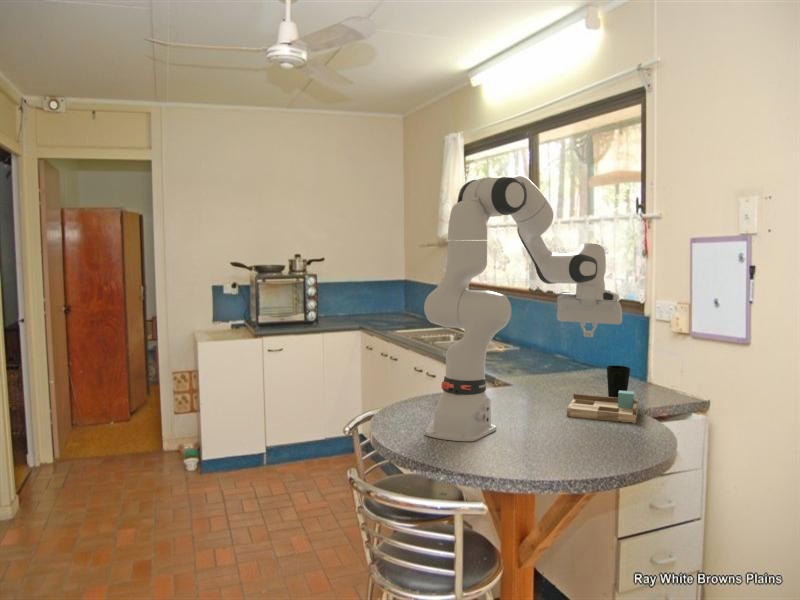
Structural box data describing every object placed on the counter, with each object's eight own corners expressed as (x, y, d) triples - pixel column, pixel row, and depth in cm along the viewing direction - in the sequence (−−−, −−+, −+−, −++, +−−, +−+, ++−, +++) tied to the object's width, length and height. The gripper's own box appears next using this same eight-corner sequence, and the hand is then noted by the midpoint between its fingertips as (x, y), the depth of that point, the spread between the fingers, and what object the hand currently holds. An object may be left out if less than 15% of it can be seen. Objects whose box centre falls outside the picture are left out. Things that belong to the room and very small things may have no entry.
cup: (625, 399, 218) (627, 365, 218) (631, 404, 211) (633, 369, 210) (603, 399, 219) (604, 365, 219) (608, 403, 212) (609, 368, 211)
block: (633, 408, 194) (633, 394, 194) (617, 407, 196) (618, 392, 195) (633, 405, 198) (634, 391, 198) (618, 404, 200) (619, 390, 200)
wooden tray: (635, 423, 186) (636, 408, 185) (566, 415, 193) (567, 401, 193) (637, 411, 200) (638, 398, 200) (573, 405, 208) (573, 392, 208)
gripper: (555, 293, 203) (554, 335, 204) (622, 295, 195) (620, 339, 195) (559, 292, 209) (557, 333, 209) (623, 295, 201) (621, 338, 201)
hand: (588, 336), depth 202 cm, fingers closed
